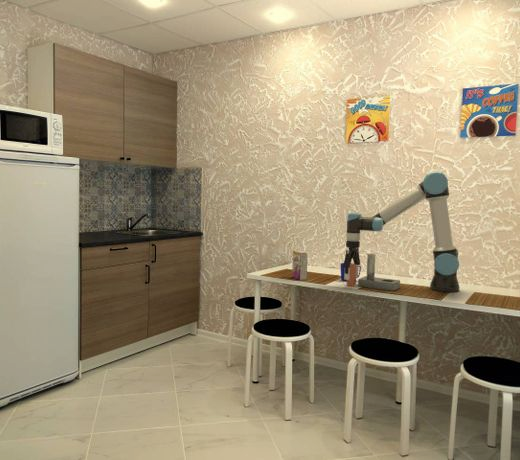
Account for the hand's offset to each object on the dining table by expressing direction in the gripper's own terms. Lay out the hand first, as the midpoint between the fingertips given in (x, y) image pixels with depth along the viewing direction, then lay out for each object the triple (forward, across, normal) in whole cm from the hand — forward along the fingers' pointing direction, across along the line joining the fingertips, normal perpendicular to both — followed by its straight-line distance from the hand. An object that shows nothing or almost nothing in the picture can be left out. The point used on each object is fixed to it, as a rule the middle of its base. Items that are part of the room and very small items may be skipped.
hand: (351, 277), depth 260 cm
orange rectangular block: (+4, 0, 0) cm, 4 cm away
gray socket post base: (+4, -6, +14) cm, 16 cm away
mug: (+4, -14, -6) cm, 16 cm away
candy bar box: (+5, 0, -33) cm, 33 cm away
